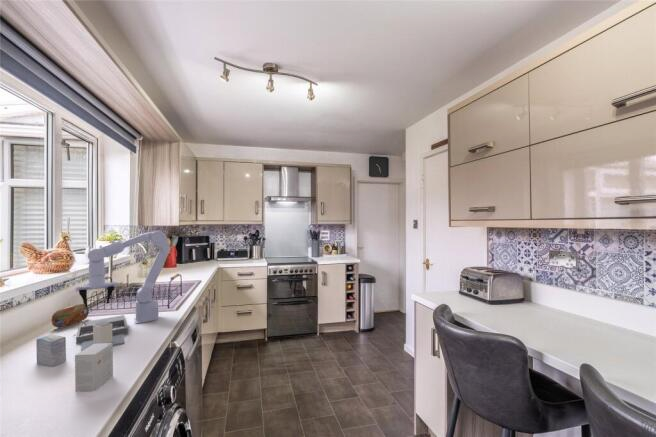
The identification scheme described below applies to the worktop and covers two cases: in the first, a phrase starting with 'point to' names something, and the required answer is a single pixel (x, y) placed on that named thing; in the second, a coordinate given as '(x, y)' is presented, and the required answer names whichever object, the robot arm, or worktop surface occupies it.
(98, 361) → the small box
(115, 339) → the mat
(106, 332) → the block
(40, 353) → the medicine box
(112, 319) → the grey open frame tray
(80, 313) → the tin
